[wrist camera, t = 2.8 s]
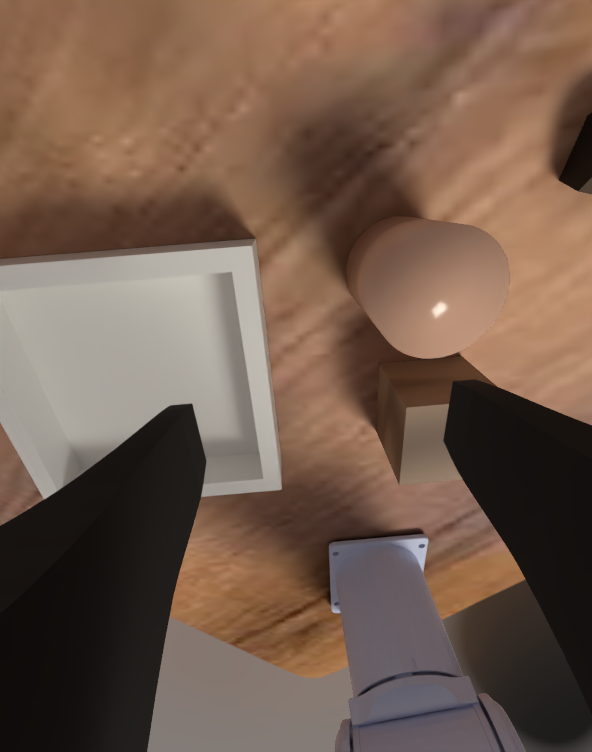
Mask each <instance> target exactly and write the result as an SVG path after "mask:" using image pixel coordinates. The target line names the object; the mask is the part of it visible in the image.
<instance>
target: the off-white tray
mask: <svg viewBox="0 0 592 752" xmlns="http://www.w3.org/2000/svg"><path fill="white" fill-rule="evenodd" d="M191 403H192V405H193V409H194V413H195V417H196V421H197V425H198V429H199V433H200V437H201V441H202V445H203V449H204V453H205V457H206V461H207V462H206V469H205V476H204V483H203V489H202V495H201V497H206V496H217V495H229V494H240V493H251V492H262V491H274V490H282V475H281V451H280V442H279V433H278V425H277V416H276V407H275V399H274V390H273V382H272V373H271V364H270V356H269V347H268V338H267V330H266V321H265V312H264V304H263V295H262V287H261V278H260V269H259V261H258V252H257V243H256V238H254V239H242V240H230V241H217V242H205V243H192V244H180V245H167V246H155V247H142V248H130V249H117V250H105V251H92V252H80V253H67V254H55V255H42V256H30V257H17V258H5V259H0V423H1V425H2V426H3V428H4V430H5V432H6V433H7V435H8V437H9V439H10V440H11V442H12V444H13V446H14V447H15V449H16V451H17V453H18V454H19V456H20V458H21V460H22V461H23V463H24V465H25V467H26V468H27V470H28V472H29V474H30V475H31V477H32V479H33V481H34V482H35V484H36V486H37V488H38V489H39V491H40V493H41V495H42V496H43V498H44V499H46V498H47V497H49V496H50V495H52V494H54V493H55V492H57V491H58V490H59V489H61V488H62V487H64V486H65V485H67V484H68V483H70V482H71V481H73V480H74V479H75V478H77V477H78V476H80V475H81V474H82V473H84V472H85V471H86V470H88V469H89V468H90V467H92V466H93V465H94V464H96V463H97V462H98V461H100V460H101V459H102V458H104V457H105V456H106V455H108V454H109V453H110V452H112V451H113V450H114V449H116V448H117V447H118V446H119V445H121V444H122V443H123V442H124V441H125V440H127V439H128V438H129V437H130V436H132V435H133V434H134V433H135V432H137V431H138V430H139V429H140V428H142V427H143V426H144V425H145V424H146V423H148V422H149V421H150V420H151V419H153V418H154V417H155V416H156V415H157V414H159V413H160V412H161V411H163V410H164V409H165V408H167V407H168V406H170V405H180V404H191Z"/></svg>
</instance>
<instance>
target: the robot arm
mask: <svg viewBox="0 0 592 752" xmlns="http://www.w3.org/2000/svg"><path fill="white" fill-rule="evenodd" d="M443 441H444V443H445V446H446V448H447V450H448V452H449V454H450V457H451V459H452V461H453V463H454V465H455V467H456V469H457V471H458V473H459V474H460V476H461V477H462V479H463V481H464V482H465V484H466V485H467V487H468V488H469V490H470V491H471V493H472V494H473V496H474V497H475V499H476V500H477V502H478V503H479V505H480V506H481V508H482V509H483V511H484V513H485V514H486V516H487V517H488V519H489V520H490V522H491V523H492V525H493V526H494V528H495V529H496V531H497V532H498V534H499V535H500V537H501V538H502V540H503V541H504V543H505V544H506V546H507V547H508V549H509V551H510V552H511V554H512V556H513V557H514V559H515V561H516V562H517V564H518V566H519V568H520V570H521V571H522V573H523V575H524V577H525V579H526V581H527V583H528V585H529V586H530V588H531V590H532V592H533V594H534V596H535V598H536V600H537V601H538V603H539V605H540V607H541V609H542V611H543V613H544V615H545V617H546V619H547V621H548V623H549V625H550V627H551V629H552V631H553V633H554V635H555V637H556V639H557V641H558V643H559V645H560V647H561V649H562V651H563V653H564V655H565V657H566V660H567V662H568V664H569V666H570V668H571V670H572V672H573V675H574V677H575V679H576V681H577V683H578V685H579V687H580V690H581V692H582V694H583V696H584V698H585V700H586V703H587V705H588V707H589V709H590V711H591V713H592V425H589V424H586V423H584V422H581V421H579V420H576V419H574V418H571V417H569V416H566V415H563V414H561V413H559V412H556V411H554V410H551V409H549V408H546V407H544V406H542V405H539V404H537V403H535V402H532V401H530V400H527V399H525V398H523V397H520V396H518V395H516V394H513V393H511V392H508V391H506V390H504V389H501V388H499V387H496V386H493V385H491V384H488V383H485V382H482V381H479V380H476V379H472V380H460V381H453V383H452V390H451V396H450V402H449V408H448V414H447V420H446V427H445V433H444V439H443ZM206 462H207V461H206V457H205V453H204V449H203V445H202V441H201V437H200V433H199V429H198V425H197V421H196V417H195V413H194V409H193V405H192V403H191V404H180V405H170V406H168V407H167V408H165V409H164V410H163V411H161V412H160V413H159V414H157V415H156V416H155V417H154V418H153V419H151V420H150V421H149V422H148V423H146V424H145V425H144V426H143V427H142V428H140V429H139V430H138V431H137V432H135V433H134V434H133V435H132V436H130V437H129V438H128V439H127V440H125V441H124V442H123V443H122V444H121V445H119V446H118V447H117V448H116V449H114V450H113V451H112V452H110V453H109V454H108V455H106V456H105V457H104V458H102V459H101V460H100V461H98V462H97V463H96V464H94V465H93V466H92V467H90V468H89V469H88V470H86V471H85V472H84V473H82V474H81V475H80V476H78V477H77V478H75V479H74V480H73V481H71V482H70V483H68V484H67V485H65V486H64V487H62V488H61V489H59V490H58V491H57V492H55V493H54V494H52V495H50V496H49V497H47V498H46V499H44V500H43V501H41V502H39V503H38V504H36V505H35V506H33V507H32V508H30V509H28V510H27V511H25V512H24V513H22V514H20V515H19V516H17V517H15V518H14V519H12V520H10V521H8V522H6V523H5V524H3V525H1V526H0V752H147V748H148V741H149V735H150V728H151V721H152V715H153V708H154V702H155V695H156V689H157V683H158V677H159V671H160V666H161V660H162V654H163V648H164V642H165V637H166V631H167V626H168V621H169V616H170V611H171V605H172V600H173V595H174V591H175V587H176V583H177V579H178V575H179V571H180V568H181V564H182V561H183V558H184V554H185V551H186V547H187V544H188V540H189V537H190V534H191V530H192V527H193V523H194V520H195V516H196V513H197V509H198V506H199V502H200V498H201V495H202V489H203V483H204V476H205V469H206ZM427 546H428V538H427V536H426V535H424V534H416V535H405V536H393V537H382V538H371V539H360V540H349V541H338V542H332V543H331V544H330V545H329V566H330V592H331V610H332V612H334V613H341V619H342V625H343V632H344V638H345V645H346V651H347V658H348V664H349V671H350V677H351V684H352V690H353V697H354V698H350V699H349V708H350V715H351V719H345V720H343V721H342V723H341V726H340V729H339V731H338V734H337V736H336V740H335V752H526V751H525V749H524V747H523V745H522V743H521V741H520V739H519V737H518V735H517V733H516V731H515V729H514V727H513V725H512V723H511V721H510V719H509V718H508V716H507V714H506V713H505V711H504V710H503V708H502V707H501V706H500V705H499V704H497V703H496V702H495V701H493V700H492V699H491V698H490V697H489V696H488V695H487V694H485V693H483V694H478V695H477V696H476V694H475V691H474V688H473V686H472V683H471V681H470V679H469V677H468V676H463V675H462V672H461V669H460V666H459V664H458V661H457V659H456V656H455V654H454V651H453V649H452V646H451V643H450V641H449V638H448V636H447V633H446V631H445V628H444V625H443V623H442V620H441V618H440V615H439V613H438V610H437V608H436V605H435V602H434V600H433V597H432V595H431V592H430V590H429V587H428V584H427V582H426V579H425V577H424V574H423V570H424V564H425V558H426V552H427Z"/></svg>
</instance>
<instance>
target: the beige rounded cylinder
mask: <svg viewBox="0 0 592 752" xmlns="http://www.w3.org/2000/svg"><path fill="white" fill-rule="evenodd" d="M346 279H347V284H348V287H349V290H350V292H351V294H352V296H353V297H354V299H355V300H356V301H357V303H358V304H359V305H360V306H361V308H362V309H363V310H364V312H365V313H366V314H367V315H368V317H369V318H370V319H371V321H372V322H373V323H374V324H375V326H376V327H377V328H378V330H379V331H380V332H381V333H382V335H383V336H384V337H385V339H386V340H387V341H388V342H389V343H390V344H391V345H392V346H393V347H394V348H396V349H397V350H399V351H400V352H402V353H404V354H407V355H409V356H413V357H417V358H425V359H430V358H440V357H445V356H449V355H452V354H454V353H457V352H459V351H461V350H463V349H465V348H467V347H468V346H470V345H472V344H473V343H474V342H476V341H477V340H478V339H479V338H481V337H482V336H483V335H484V334H485V333H486V332H487V331H488V330H489V328H490V327H491V326H492V325H493V324H494V322H495V321H496V319H497V318H498V316H499V314H500V312H501V311H502V309H503V306H504V304H505V301H506V298H507V295H508V290H509V284H510V272H509V265H508V261H507V257H506V255H505V253H504V251H503V249H502V247H501V246H500V244H499V243H498V242H497V241H496V240H495V239H494V238H493V237H492V236H491V235H490V234H488V233H487V232H485V231H483V230H481V229H479V228H477V227H474V226H470V225H464V224H457V223H450V222H442V221H435V220H428V219H421V218H413V217H406V216H394V217H388V218H385V219H382V220H380V221H378V222H376V223H374V224H372V225H371V226H370V227H368V228H367V229H366V230H365V231H364V232H363V233H362V234H361V235H360V236H359V237H358V239H357V240H356V241H355V243H354V245H353V246H352V248H351V251H350V253H349V256H348V259H347V265H346Z"/></svg>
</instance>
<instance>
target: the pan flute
mask: <svg viewBox="0 0 592 752" xmlns="http://www.w3.org/2000/svg"><path fill="white" fill-rule="evenodd" d="M559 181H561V182H563V183H564V184H566V185H568V186H570V187H571V188H573V189H575V190H577V191H579V192H584V193H589V194H592V113H591V114H589V115H588V116H587V118H586V120H585V123H584V125H583V127H582V129H581V132H580V134H579V136H578V138H577V141H576V143H575V145H574V147H573V150H572V152H571V154H570V156H569V159H568V161H567V163H566V165H565V168H564V170H563V172H562V174H561V177H560V179H559Z"/></svg>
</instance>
